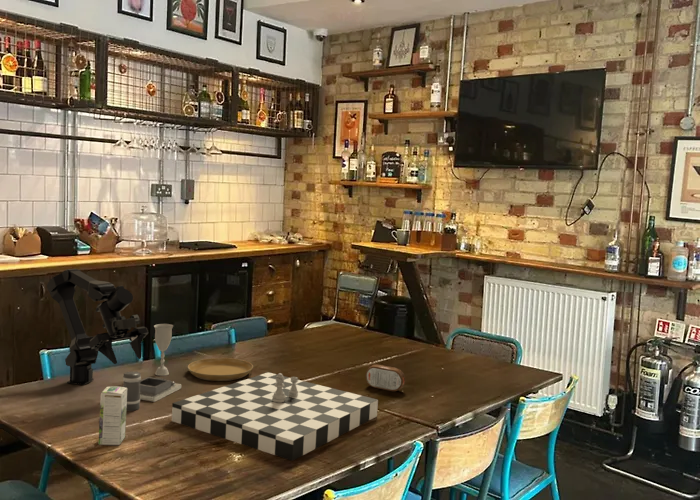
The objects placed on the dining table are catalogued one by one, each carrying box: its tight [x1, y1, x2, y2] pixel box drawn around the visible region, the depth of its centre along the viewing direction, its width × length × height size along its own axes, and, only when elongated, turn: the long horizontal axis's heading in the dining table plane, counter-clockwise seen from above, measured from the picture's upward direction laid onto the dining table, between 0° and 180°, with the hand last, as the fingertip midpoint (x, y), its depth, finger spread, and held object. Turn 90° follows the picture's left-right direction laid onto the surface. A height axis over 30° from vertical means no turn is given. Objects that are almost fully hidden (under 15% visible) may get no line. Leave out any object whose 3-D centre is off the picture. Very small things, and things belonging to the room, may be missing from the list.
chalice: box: [153, 323, 174, 377], centre depth 244 cm, size 7×7×18 cm
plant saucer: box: [187, 357, 254, 382], centre depth 249 cm, size 24×24×3 cm
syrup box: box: [98, 385, 127, 446], centre depth 179 cm, size 6×6×14 cm
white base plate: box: [140, 376, 182, 403], centre depth 222 cm, size 11×16×4 cm
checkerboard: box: [171, 372, 379, 462], centre depth 204 cm, size 45×45×15 cm
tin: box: [365, 363, 406, 392], centre depth 241 cm, size 15×3×8 cm, turn 65°
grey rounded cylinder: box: [122, 371, 142, 412], centre depth 206 cm, size 5×5×11 cm
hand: (128, 361), depth 213 cm, fingers open, 9 cm apart
